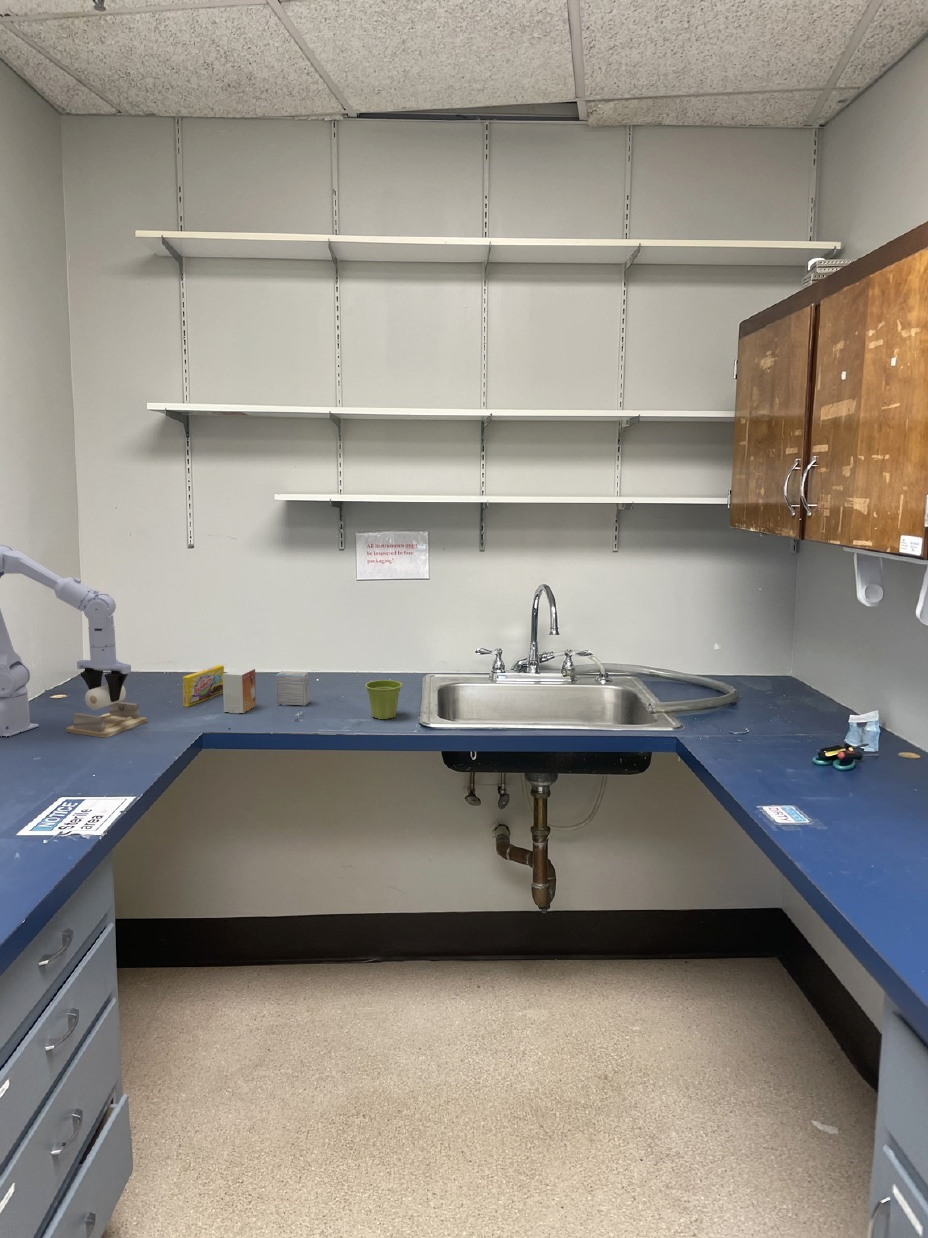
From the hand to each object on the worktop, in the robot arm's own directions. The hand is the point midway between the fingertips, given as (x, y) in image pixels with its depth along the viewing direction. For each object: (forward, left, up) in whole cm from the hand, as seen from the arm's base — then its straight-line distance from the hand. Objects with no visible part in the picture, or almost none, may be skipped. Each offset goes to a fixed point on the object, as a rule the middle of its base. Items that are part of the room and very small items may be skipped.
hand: (105, 699), depth 198 cm
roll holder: (0, 0, -7) cm, 7 cm away
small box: (+25, -21, -7) cm, 33 cm away
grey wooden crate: (+35, -31, -7) cm, 47 cm away
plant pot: (+33, -59, -7) cm, 68 cm away
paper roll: (0, 0, -1) cm, 1 cm away
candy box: (+30, -6, -7) cm, 31 cm away
